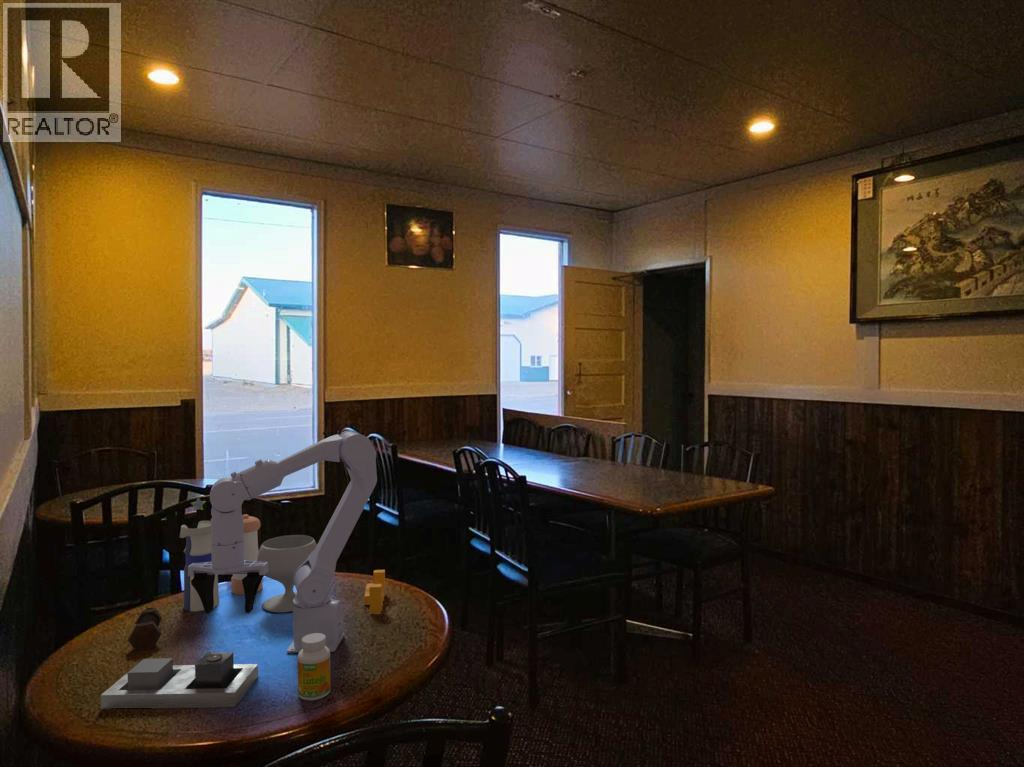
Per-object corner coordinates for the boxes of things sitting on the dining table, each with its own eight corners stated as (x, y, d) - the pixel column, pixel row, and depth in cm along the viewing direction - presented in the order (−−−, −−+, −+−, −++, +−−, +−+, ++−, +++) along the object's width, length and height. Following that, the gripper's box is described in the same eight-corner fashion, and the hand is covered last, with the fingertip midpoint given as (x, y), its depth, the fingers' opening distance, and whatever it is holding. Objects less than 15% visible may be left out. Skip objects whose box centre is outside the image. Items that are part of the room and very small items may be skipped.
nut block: (233, 685, 111) (233, 650, 111) (221, 699, 107) (221, 662, 106) (208, 685, 111) (208, 650, 111) (195, 699, 107) (194, 662, 107)
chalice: (279, 591, 157) (278, 532, 157) (330, 595, 154) (329, 534, 154) (245, 613, 143) (243, 548, 143) (300, 617, 141) (299, 551, 140)
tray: (258, 676, 114) (257, 663, 114) (234, 706, 104) (234, 692, 104) (136, 679, 114) (135, 666, 114) (100, 709, 104) (100, 695, 104)
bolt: (154, 630, 139) (149, 655, 126) (131, 622, 137) (123, 647, 124) (169, 605, 141) (165, 627, 127) (146, 597, 139) (139, 619, 125)
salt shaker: (261, 593, 156) (259, 516, 156) (229, 596, 154) (227, 519, 154) (263, 583, 163) (262, 510, 163) (233, 586, 161) (231, 512, 160)
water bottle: (173, 607, 147) (170, 501, 147) (208, 596, 154) (206, 495, 154) (191, 615, 143) (189, 506, 142) (227, 603, 150) (224, 499, 149)
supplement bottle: (299, 704, 105) (298, 647, 104) (296, 689, 110) (295, 634, 109) (332, 697, 107) (331, 641, 107) (328, 682, 112) (327, 629, 112)
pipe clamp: (367, 596, 154) (366, 570, 154) (385, 595, 154) (384, 569, 154) (361, 615, 142) (361, 587, 142) (381, 614, 142) (380, 586, 142)
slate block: (173, 686, 111) (172, 658, 111) (158, 701, 106) (157, 672, 106) (144, 686, 111) (144, 658, 111) (128, 701, 106) (127, 672, 106)
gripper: (178, 548, 116) (180, 620, 116) (257, 547, 116) (259, 619, 117) (197, 537, 123) (198, 605, 123) (271, 536, 123) (272, 604, 124)
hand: (229, 611), depth 121 cm, fingers open, 7 cm apart
